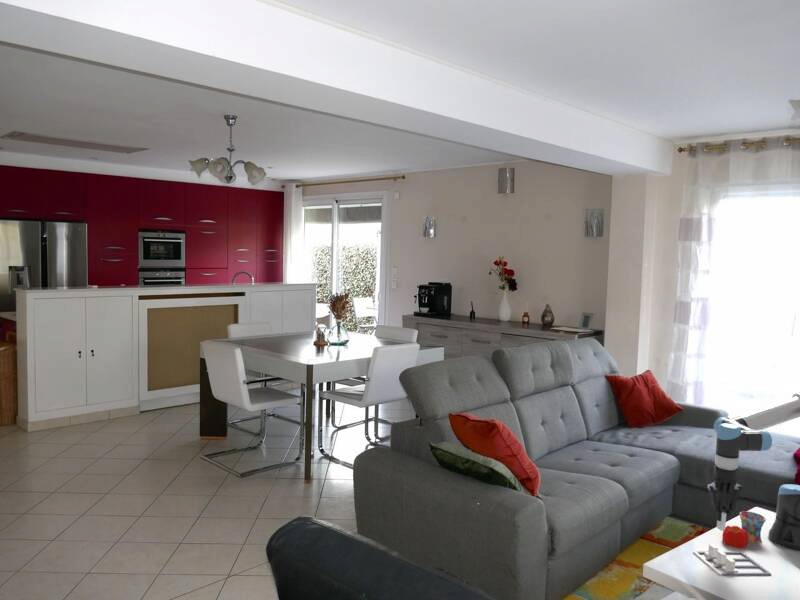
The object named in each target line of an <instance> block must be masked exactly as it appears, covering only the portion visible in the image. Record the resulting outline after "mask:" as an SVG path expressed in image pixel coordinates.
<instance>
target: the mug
mask: <svg viewBox="0 0 800 600" xmlns="http://www.w3.org/2000/svg"><path fill="white" fill-rule="evenodd" d="M738 514H739V517H740V522H741V527H740V528H741V529H744V530H745V531H746V532H747V534H748V537H749V542H748V543H753V544H760V543H761V544H762V543H763V540H762V537H761V533H762V529H763V526H764V523H765V522H766V521H767V519H766V517H765V516H764V515H762V514H760V513H757V512H753V511H747V510H743V511H740V512H739V513H738Z"/></svg>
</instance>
